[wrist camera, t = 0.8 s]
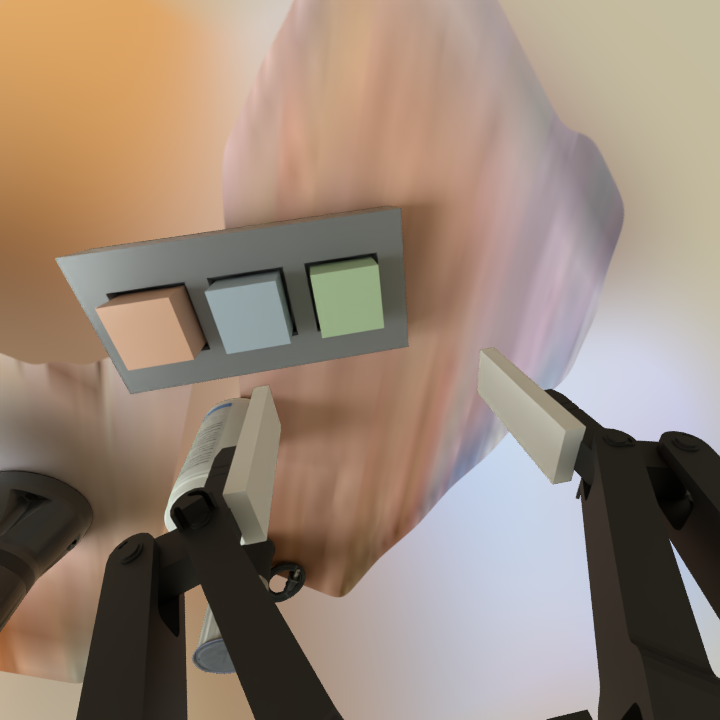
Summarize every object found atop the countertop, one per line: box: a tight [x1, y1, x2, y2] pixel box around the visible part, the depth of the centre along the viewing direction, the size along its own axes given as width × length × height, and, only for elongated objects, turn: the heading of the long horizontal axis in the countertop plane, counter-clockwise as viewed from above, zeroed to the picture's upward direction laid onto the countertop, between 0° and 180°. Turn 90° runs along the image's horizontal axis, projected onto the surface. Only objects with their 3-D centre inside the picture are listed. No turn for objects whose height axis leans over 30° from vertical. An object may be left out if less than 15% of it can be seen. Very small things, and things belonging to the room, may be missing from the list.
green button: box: [310, 257, 384, 338], centre depth 31 cm, size 6×6×4 cm
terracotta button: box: [95, 285, 206, 371], centre depth 30 cm, size 6×6×4 cm
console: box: [55, 206, 409, 394], centre depth 34 cm, size 30×14×5 cm, turn 97°
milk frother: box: [192, 538, 305, 674], centre depth 51 cm, size 14×16×15 cm
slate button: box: [205, 271, 293, 354], centre depth 31 cm, size 6×6×4 cm
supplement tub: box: [164, 398, 250, 545], centre depth 37 cm, size 10×10×15 cm
